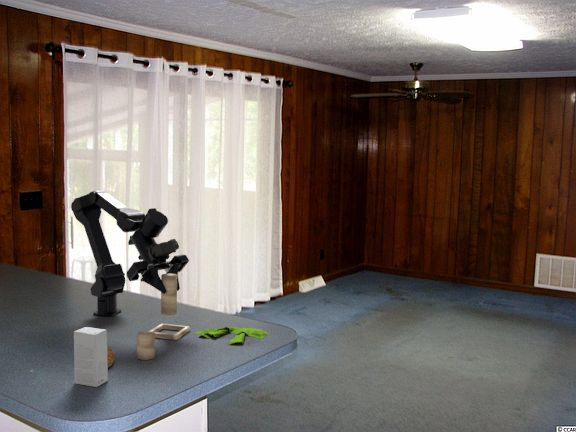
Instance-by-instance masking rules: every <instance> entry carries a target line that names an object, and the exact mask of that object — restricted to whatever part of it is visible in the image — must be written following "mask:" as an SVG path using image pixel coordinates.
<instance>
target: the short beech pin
mask: <svg viewBox="0 0 576 432" xmlns="http://www.w3.org/2000/svg"><path fill="white" fill-rule="evenodd" d="M155 348H156V338H155V333H154V332H151V331H150V330H149V331H147V330H145V331H139V332H137V334H136V359H138V360H141V361H142V360H143V361H149V360H152V359H154V358H155V357H156V356H155V355H156V351H155V350H156V349H155Z"/></svg>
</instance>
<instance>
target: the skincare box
mask: <svg viewBox="0 0 576 432" xmlns="http://www.w3.org/2000/svg"><path fill="white" fill-rule="evenodd" d="M107 347H108V330H107V329H104V328H98V327H97V328H95V327H90V326H89V327H88V326H85V327H82V328H79V329H77V330H74V331H73V358H74V359H73V360H74V362H73V363H74V365H73V367H74V369H73V370H74V384H77V385H82V386H87V387H94V388H98V387H99V386H101V385H102V384H104V383H106V382H108V381H109V380H108V379H109V375H108V373H109V371H108V370H109V369H108V368H109V367H108V364H107Z"/></svg>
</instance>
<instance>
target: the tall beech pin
mask: <svg viewBox="0 0 576 432" xmlns="http://www.w3.org/2000/svg"><path fill="white" fill-rule="evenodd" d="M160 279H161V281H162V282H163V284H164V286H165V289H166V291H167V292H166V293H165V294H164V293H162V292H160V314H161V315H164V316H173V315H176V314H178V313H177V311H178V310H177V309H178V291H177V274H172V273H168V274H166V273H162V274H161V275H160Z"/></svg>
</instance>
